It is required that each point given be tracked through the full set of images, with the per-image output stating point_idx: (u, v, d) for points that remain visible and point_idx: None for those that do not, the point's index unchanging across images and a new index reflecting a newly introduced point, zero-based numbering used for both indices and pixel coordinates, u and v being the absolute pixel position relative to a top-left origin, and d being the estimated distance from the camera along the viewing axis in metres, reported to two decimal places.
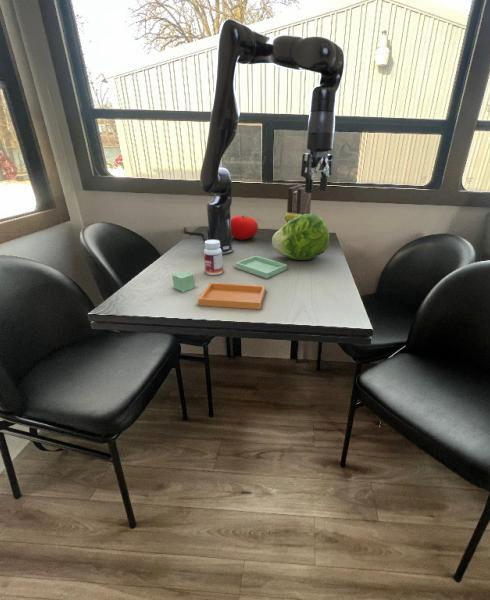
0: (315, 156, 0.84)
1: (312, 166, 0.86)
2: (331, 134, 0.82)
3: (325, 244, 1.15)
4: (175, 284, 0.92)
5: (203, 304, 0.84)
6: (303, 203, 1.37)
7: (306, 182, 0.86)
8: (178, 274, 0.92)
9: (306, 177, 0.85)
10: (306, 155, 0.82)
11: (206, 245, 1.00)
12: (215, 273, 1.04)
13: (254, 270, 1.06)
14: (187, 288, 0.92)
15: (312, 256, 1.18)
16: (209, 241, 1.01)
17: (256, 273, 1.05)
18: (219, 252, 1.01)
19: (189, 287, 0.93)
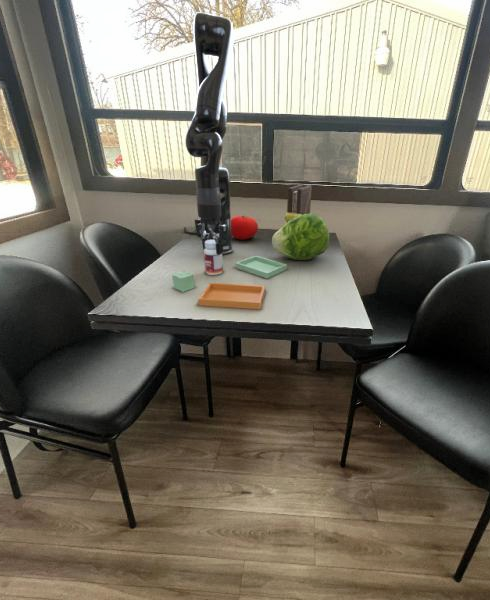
0: (200, 220, 0.99)
1: None
2: (199, 205, 0.93)
3: (325, 244, 1.15)
4: (175, 284, 0.92)
5: (203, 304, 0.84)
6: (303, 203, 1.37)
7: None
8: (178, 274, 0.92)
9: None
10: None
11: (206, 245, 1.00)
12: (215, 273, 1.04)
13: (254, 270, 1.06)
14: (187, 288, 0.92)
15: (312, 256, 1.18)
16: (209, 241, 1.01)
17: (256, 273, 1.05)
18: None
19: (189, 287, 0.93)
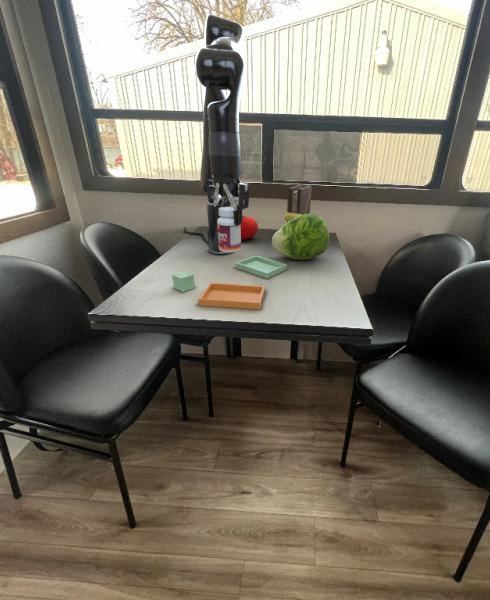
0: (214, 180, 0.76)
1: None
2: (212, 156, 0.70)
3: (325, 244, 1.15)
4: (175, 284, 0.92)
5: (203, 304, 0.84)
6: (303, 203, 1.37)
7: None
8: (178, 274, 0.92)
9: None
10: None
11: (221, 213, 0.77)
12: (232, 250, 0.80)
13: (254, 270, 1.06)
14: (187, 288, 0.92)
15: (312, 256, 1.18)
16: (224, 208, 0.78)
17: (256, 273, 1.05)
18: None
19: (189, 287, 0.93)
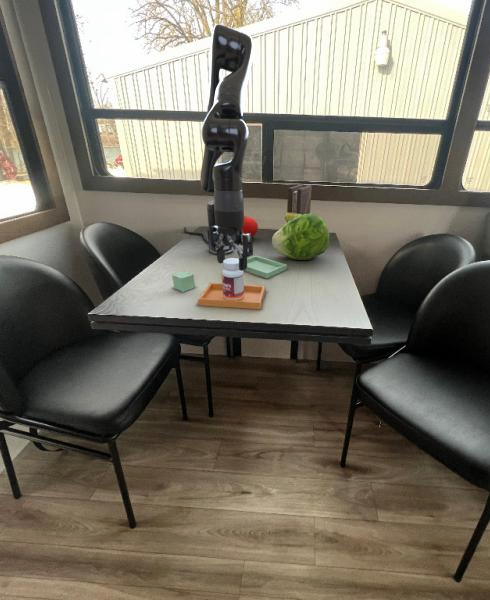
0: (218, 230, 0.81)
1: None
2: (217, 212, 0.75)
3: (325, 244, 1.15)
4: (175, 284, 0.92)
5: (203, 304, 0.84)
6: (303, 203, 1.37)
7: None
8: (178, 274, 0.92)
9: None
10: None
11: (225, 265, 0.82)
12: (235, 298, 0.86)
13: (254, 270, 1.06)
14: (187, 288, 0.92)
15: (312, 256, 1.18)
16: (229, 260, 0.84)
17: (256, 273, 1.05)
18: (241, 273, 0.84)
19: (189, 287, 0.93)
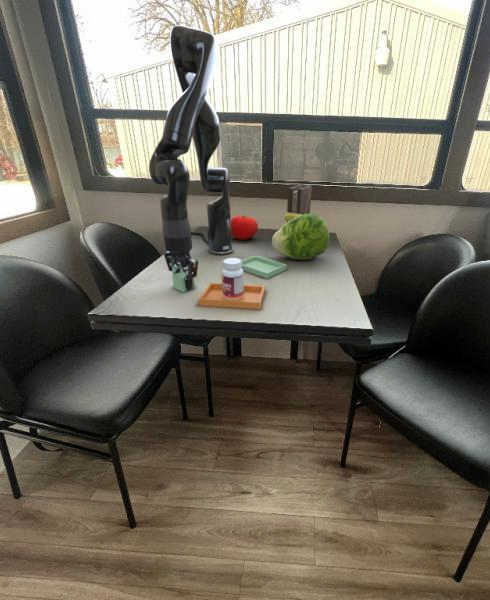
0: (169, 252, 0.90)
1: None
2: (165, 238, 0.84)
3: (325, 244, 1.15)
4: (175, 284, 0.92)
5: (203, 304, 0.84)
6: (303, 203, 1.37)
7: None
8: (178, 274, 0.92)
9: None
10: None
11: (225, 265, 0.82)
12: (235, 298, 0.86)
13: (254, 270, 1.06)
14: None
15: (312, 256, 1.18)
16: (229, 260, 0.84)
17: (256, 273, 1.05)
18: (241, 273, 0.84)
19: None
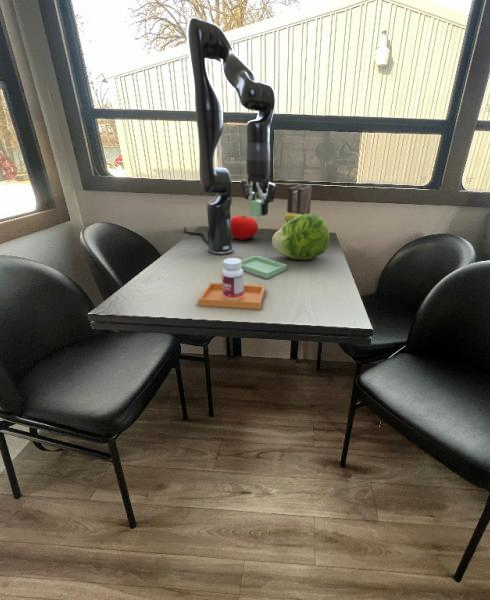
0: (248, 179, 0.98)
1: None
2: (249, 161, 0.92)
3: (325, 244, 1.15)
4: (251, 210, 1.00)
5: (203, 304, 0.84)
6: (303, 203, 1.37)
7: None
8: (254, 200, 1.00)
9: None
10: None
11: (225, 265, 0.82)
12: (235, 298, 0.86)
13: (254, 270, 1.06)
14: None
15: (312, 256, 1.18)
16: (229, 260, 0.84)
17: (256, 273, 1.05)
18: (241, 273, 0.84)
19: None
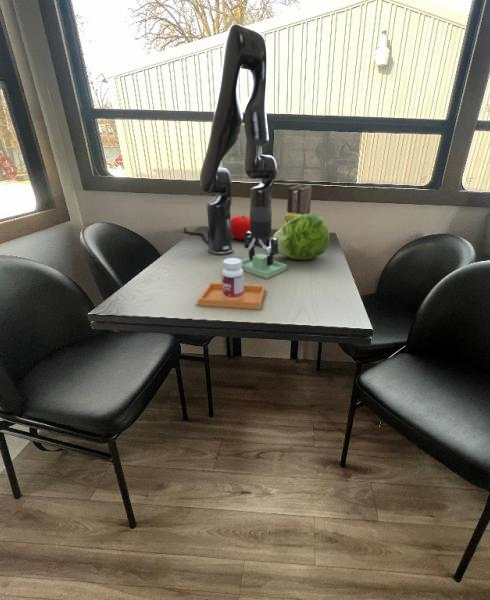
0: (251, 235, 1.07)
1: None
2: (252, 222, 1.01)
3: (325, 244, 1.15)
4: (255, 264, 1.09)
5: (203, 304, 0.84)
6: (303, 203, 1.37)
7: None
8: (257, 255, 1.09)
9: None
10: None
11: (225, 265, 0.82)
12: (235, 298, 0.86)
13: (254, 270, 1.06)
14: (265, 267, 1.09)
15: (312, 256, 1.18)
16: (229, 260, 0.84)
17: (256, 273, 1.05)
18: (241, 273, 0.84)
19: (266, 267, 1.10)
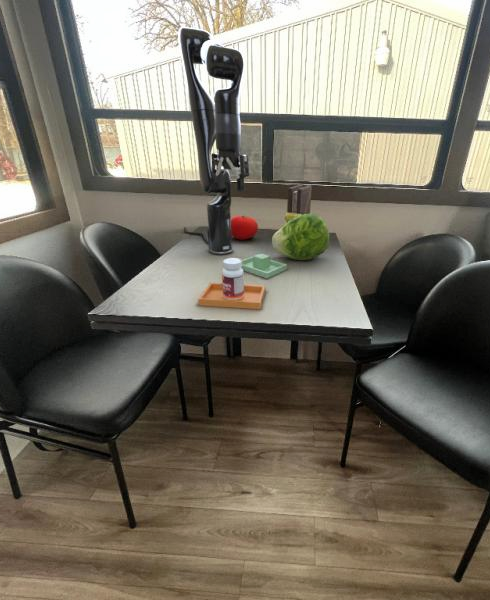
0: (218, 155, 0.92)
1: None
2: (218, 134, 0.86)
3: (325, 244, 1.15)
4: (255, 264, 1.09)
5: (203, 304, 0.84)
6: (303, 203, 1.37)
7: None
8: (257, 255, 1.09)
9: None
10: None
11: (225, 265, 0.82)
12: (235, 298, 0.86)
13: (254, 270, 1.06)
14: (265, 267, 1.09)
15: (312, 256, 1.18)
16: (229, 260, 0.84)
17: (256, 273, 1.05)
18: (241, 273, 0.84)
19: (266, 267, 1.10)
